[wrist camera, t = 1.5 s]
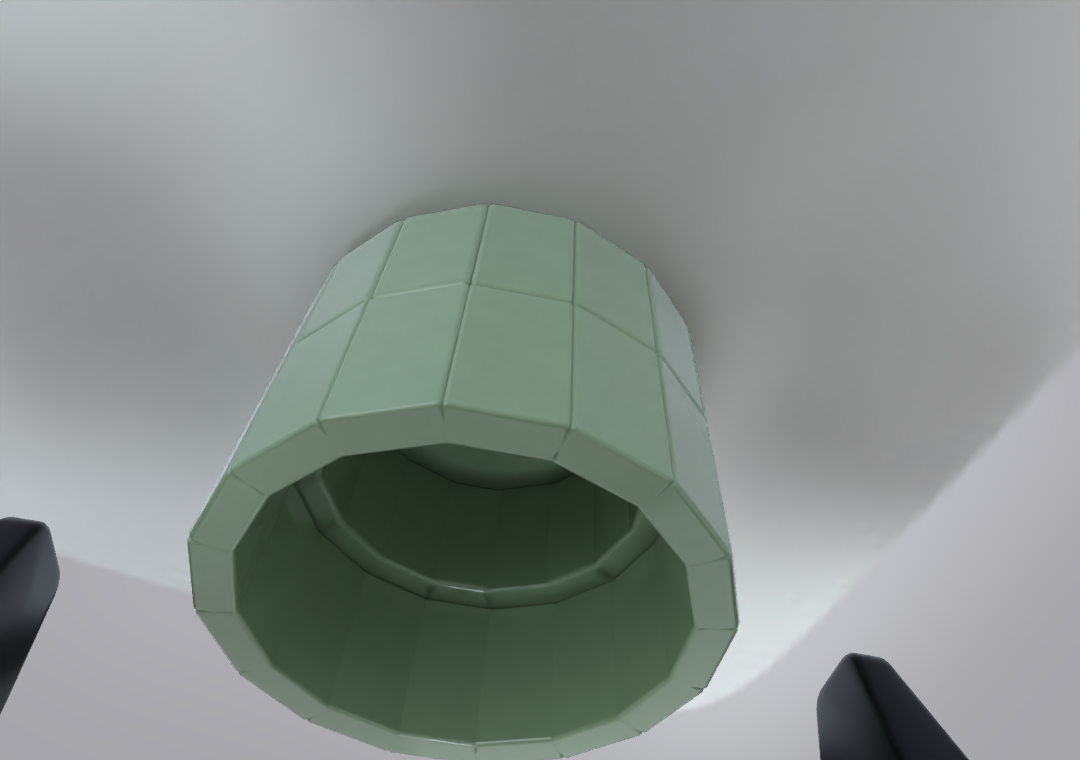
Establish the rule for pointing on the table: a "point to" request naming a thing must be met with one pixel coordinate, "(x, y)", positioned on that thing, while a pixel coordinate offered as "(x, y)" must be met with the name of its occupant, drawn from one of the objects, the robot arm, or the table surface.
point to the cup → (476, 500)
